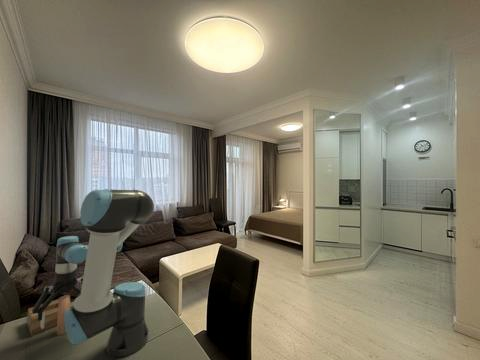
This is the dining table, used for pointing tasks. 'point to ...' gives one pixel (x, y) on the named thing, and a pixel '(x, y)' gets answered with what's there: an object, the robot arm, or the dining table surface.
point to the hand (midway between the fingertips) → (63, 319)
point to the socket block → (50, 318)
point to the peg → (62, 313)
